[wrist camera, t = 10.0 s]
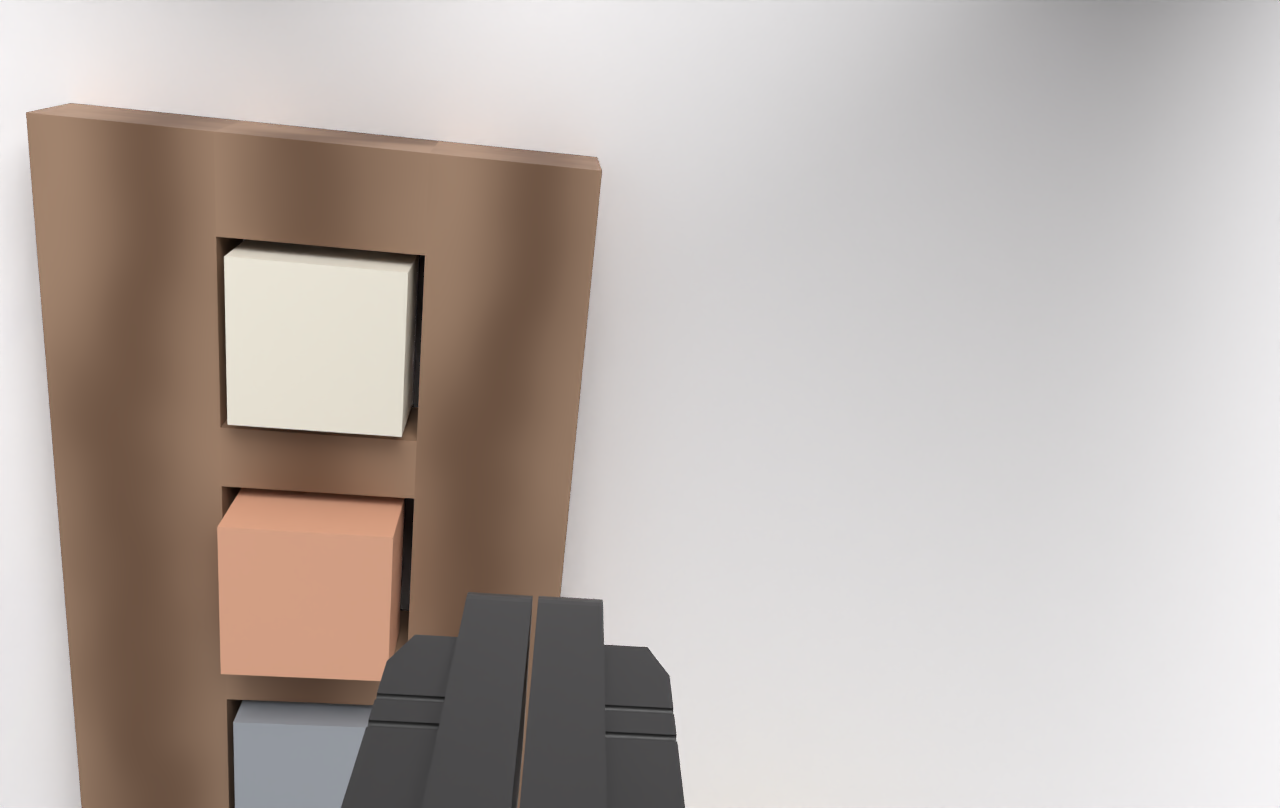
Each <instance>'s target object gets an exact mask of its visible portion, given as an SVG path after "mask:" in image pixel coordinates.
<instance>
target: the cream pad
mask: <svg viewBox="0 0 1280 808" xmlns="http://www.w3.org/2000/svg"><path fill="white" fill-rule="evenodd" d="M418 267H419V255H415V254H403V253H392V252H381V251H370V250H359V249H348V248H337V247H326V246H315V245H304V244H293V243H282V242H271V241H259V240H248V239H246V240H244V241H243V242H242V243H241V244H239V245H238V246H237V247H235V248H234V249H233V250H232V251H230V252H229V253H228V254H227V255H225V256H224V279H225V328H226V378H227V425H239V426H253V427H267V428H282V429H296V430H310V431H324V432H338V433H353V434H367V435H381V436H395V437H402V434H403V431H404V428H405V425H406V422H407V419H408V416H409V413H410V410H411V407H412V404H413V385H414V361H415V338H416V314H417V290H418Z"/></svg>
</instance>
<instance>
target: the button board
mask: <svg viewBox="0 0 1280 808" xmlns="http://www.w3.org/2000/svg"><path fill="white" fill-rule="evenodd" d="M26 118H27V130H28V143H29V155H30V168H31V180H32V193H33V205H34V218H35V230H36V243H37V255H38V268H39V280H40V293H41V305H42V318H43V330H44V343H45V355H46V368H47V380H48V393H49V405H50V418H51V430H52V443H53V455H54V468H55V480H56V493H57V505H58V518H59V530H60V543H61V555H62V568H63V580H64V593H65V605H66V618H67V630H68V643H69V655H70V667H71V680H72V692H73V705H74V717H75V730H76V742H77V755H78V767H79V780H80V792H81V805H82V808H235V784H234V735H233V722H234V720H235V717H236V715H237V713H238V710H239V708H240V706H241V703H242V701H243V700H259V701H283V702H307V703H331V704H356V705H373V704H374V700H376V697H377V691H378V688H379V684H380V681H366V680H344V679H321V678H298V677H276V676H253V675H231V674H221V663H220V622H219V581H218V541H217V527H218V525H219V523H220V522H221V520H222V519H223V517H224V515H225V514H226V512H227V511H228V509H229V507H230V506H231V504H232V503H233V501H234V499H235V498H236V496H237V495H238V493H239V491H240V490H241V488H257V489H272V490H288V491H304V492H319V493H335V494H350V495H366V496H382V497H397V498H413V499H414V515H413V537H412V560H411V583H410V605H409V611H405V610H400V628H399V635H398V639H397V643H396V648H395V652H394V654H395V653H396V652H397V651H398V650H399V649H400V648H401V647H402V646H403V645H404V644H405V643H407V642H408V641H409V640H410V639H411V638H412V637H413V636H414V635H432V636H450V637H458V634H459V629H460V625H461V620H462V615H463V611H464V606H465V601H466V597H467V593H468V592H476V593H493V594H510V595H527V596H533V602H532V619H531V634H530V649H529V664H528V679H527V694H526V709H525V723H524V737H523V750H522V762H521V773H520V784H519V795H518V806H517V808H519V807H520V796H521V785H522V774H523V763H524V752H525V740H526V729H527V718H528V707H529V696H530V685H531V674H532V663H533V651H534V640H535V629H536V618H537V607H538V597H539V596H548V597H560V592H561V582H562V572H563V562H564V552H565V541H566V531H567V521H568V511H569V501H570V490H571V480H572V470H573V460H574V450H575V440H576V429H577V419H578V409H579V399H580V389H581V378H582V368H583V358H584V348H585V338H586V328H587V317H588V307H589V297H590V287H591V277H592V267H593V256H594V246H595V236H596V226H597V216H598V205H599V195H600V185H601V175H602V170H601V167H600V164H599V161H598V158H597V157H589V156H580V155H570V154H560V153H551V152H541V151H531V150H521V149H512V148H502V147H492V146H482V145H473V144H463V143H453V142H443V141H434V140H424V139H414V138H405V137H395V136H385V135H375V134H366V133H356V132H346V131H336V130H327V129H317V128H307V127H298V126H288V125H278V124H268V123H259V122H249V121H239V120H229V119H220V118H210V117H200V116H191V115H181V114H171V113H161V112H152V111H142V110H132V109H122V108H113V107H103V106H93V105H84V104H74V103H69V104H64V105H60V106H55V107H50V108H45V109H40V110H35V111H31V112H26ZM243 239H248V240H259V241H271V242H282V243H293V244H304V245H315V246H326V247H337V248H348V249H359V250H370V251H381V252H392V253H403V254H415V255H425V266H424V288H423V311H422V334H421V356H420V379H419V402H418V408H417V407H411V410H410V413H409V416H408V419H407V422H406V425H405V428H404V431H403V434H402V437H395V436H381V435H367V434H353V433H338V432H324V431H310V430H296V429H282V428H267V427H253V426H239V425H227V378H226V328H225V279H224V256H225V255H227V254H228V253H229V252H230V251H232V250H233V249H234V248H235V247H237V246H238V245H239V244H241V243H242V242H243Z"/></svg>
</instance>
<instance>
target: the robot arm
mask: <svg viewBox="0 0 1280 808" xmlns="http://www.w3.org/2000/svg"><path fill="white" fill-rule="evenodd" d="M532 602H533V596H527V595H510V594H493V593H476V592H468V593H467V597H466V601H465V606H464V611H463V615H462V620H461V625H460V629H459V634H458V637H450V636H432V635H414V636H413V637H412V638H411V639H410V640H409V641H408V642H407V643H405V644H404V645H403V646H402V647H401V648H400V649H399V650H398V651H397V652H396V653H395V654H394V655H393V656H392V657H391V658H389V659H388V660H387V662H386V665H385V668H384V672H383V675H382V678H381V681H380V684H379V688H378V691H377V697H376V700H374V704H373V707H372V710H371V713H370V716H369V720H368V727H366V729H365V732H364V735H363V739H362V742H361V745H360V748H359V751H358V755H357V758H356V761H355V764H354V767H353V771H352V774H351V777H350V780H349V783H348V786H347V790H346V793H345V796H344V799H343V802H342V806H341V808H517V806H518V795H519V784H520V773H521V762H522V750H523V737H524V723H525V709H526V694H527V679H528V664H529V649H530V634H531V619H532ZM519 808H685V804H684V796H683V787H682V779H681V770H680V762H679V753H678V745H677V742H676V727H675V719H674V715H673V702H672V693H671V685H670V676H669V675H668V673H667V672H666V671H665V670H664V668H663V667H662V666H661V664H660V663H659V662H658V660H657V659H656V658H655V657H654V655H653V654H652V653H651V651H650V650H649V649H648V647H633V646H615V645H604V632H603V600H599V599H582V598H565V597H548V596H539V597H538V607H537V618H536V629H535V640H534V651H533V663H532V674H531V685H530V696H529V707H528V718H527V729H526V740H525V752H524V763H523V774H522V785H521V796H520V807H519Z"/></svg>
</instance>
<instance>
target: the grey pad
mask: <svg viewBox="0 0 1280 808" xmlns="http://www.w3.org/2000/svg"><path fill="white" fill-rule="evenodd" d="M372 707H373V705H356V704H331V703H307V702H283V701H259V700H243V701H242V703H241V706H240V708H239V710H238V713H237V715H236V717H235V720H234V722H233V735H234V784H235V808H341V806H342V802H343V799H344V796H345V793H346V790H347V786H348V783H349V780H350V777H351V774H352V771H353V767H354V764H355V761H356V758H357V755H358V751H359V748H360V745H361V742H362V739H363V735H364V732H365V729H366V727H368V720H369V716H370V713H371V710H372Z"/></svg>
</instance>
